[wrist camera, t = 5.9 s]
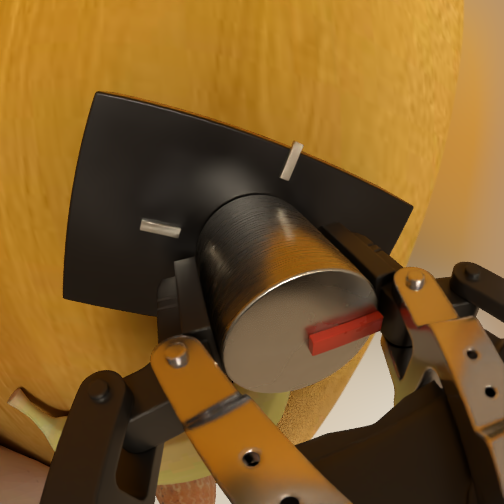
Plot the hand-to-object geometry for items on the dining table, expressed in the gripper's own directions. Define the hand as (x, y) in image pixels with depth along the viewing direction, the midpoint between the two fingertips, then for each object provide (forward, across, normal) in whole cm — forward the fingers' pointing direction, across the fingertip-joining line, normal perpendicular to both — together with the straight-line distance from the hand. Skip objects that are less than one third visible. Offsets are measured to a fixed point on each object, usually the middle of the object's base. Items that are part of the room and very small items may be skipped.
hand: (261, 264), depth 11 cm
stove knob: (+1, 0, 0) cm, 1 cm away
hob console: (+4, 0, 0) cm, 4 cm away
